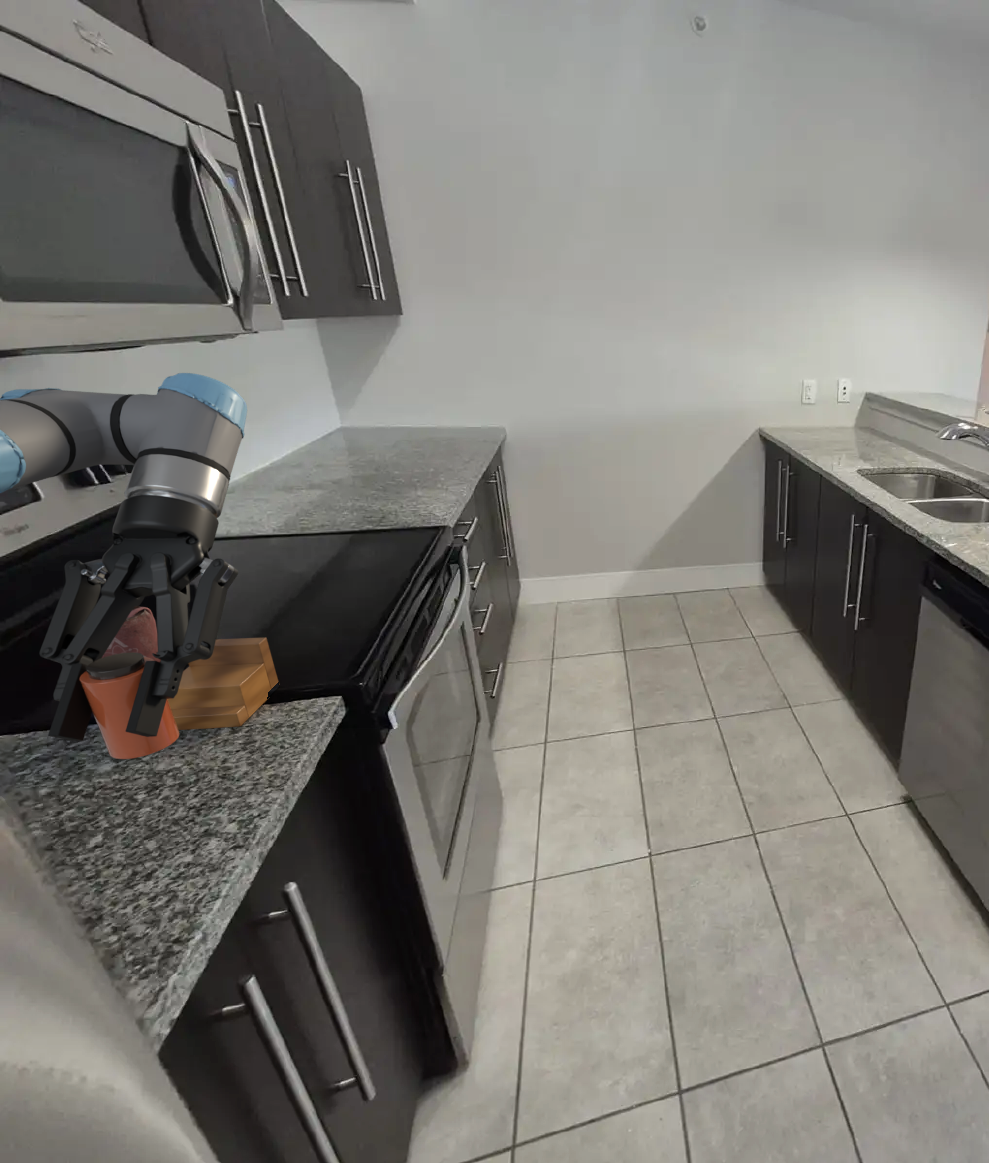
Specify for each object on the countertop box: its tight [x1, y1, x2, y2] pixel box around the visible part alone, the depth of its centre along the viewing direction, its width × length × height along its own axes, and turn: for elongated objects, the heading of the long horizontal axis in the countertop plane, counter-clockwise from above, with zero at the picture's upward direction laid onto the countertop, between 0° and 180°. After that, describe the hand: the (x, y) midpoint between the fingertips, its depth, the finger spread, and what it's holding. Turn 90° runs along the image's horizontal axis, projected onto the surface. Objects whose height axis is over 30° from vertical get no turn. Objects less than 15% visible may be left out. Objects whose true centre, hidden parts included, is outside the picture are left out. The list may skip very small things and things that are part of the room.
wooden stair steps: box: [168, 637, 279, 731], centre depth 85 cm, size 9×10×8 cm
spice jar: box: [80, 652, 180, 760], centre depth 60 cm, size 5×5×9 cm
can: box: [102, 606, 161, 662], centre depth 83 cm, size 6×6×14 cm
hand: (104, 735), depth 57 cm, fingers closed on spice jar, 5 cm apart
